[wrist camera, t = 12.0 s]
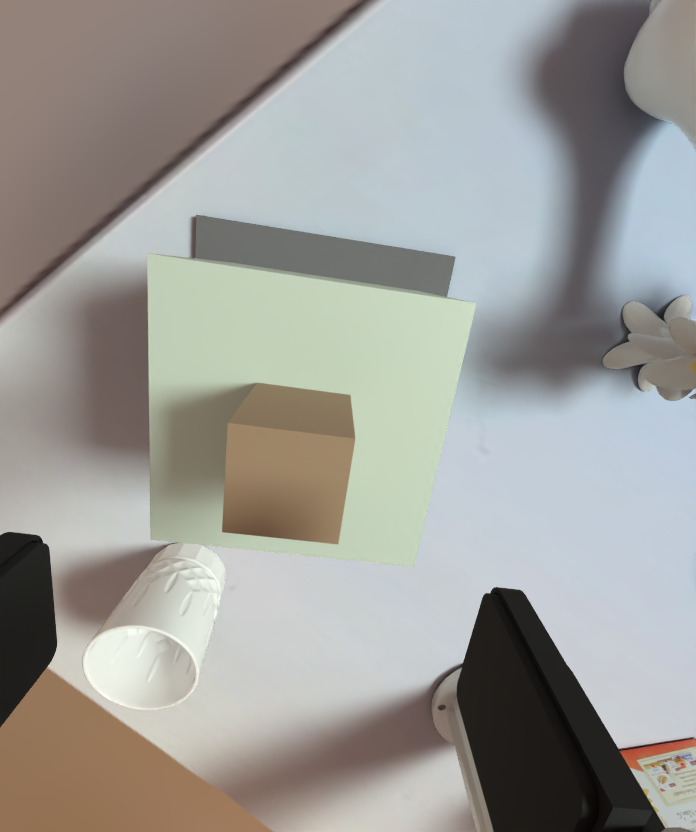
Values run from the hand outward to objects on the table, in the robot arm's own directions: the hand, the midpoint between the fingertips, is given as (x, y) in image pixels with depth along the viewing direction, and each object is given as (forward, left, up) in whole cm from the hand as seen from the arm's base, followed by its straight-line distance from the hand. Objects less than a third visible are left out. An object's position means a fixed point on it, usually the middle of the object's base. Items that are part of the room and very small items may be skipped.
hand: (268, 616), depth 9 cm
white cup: (+9, +20, -25) cm, 33 cm away
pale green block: (0, 0, -24) cm, 24 cm away
